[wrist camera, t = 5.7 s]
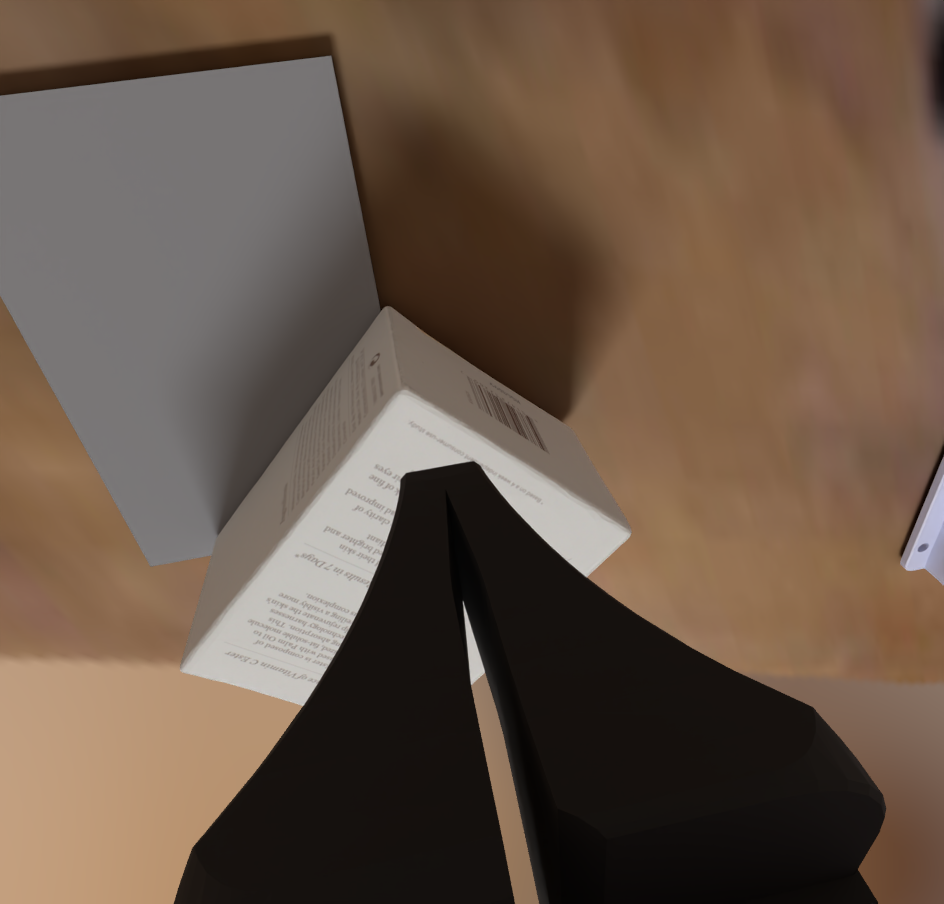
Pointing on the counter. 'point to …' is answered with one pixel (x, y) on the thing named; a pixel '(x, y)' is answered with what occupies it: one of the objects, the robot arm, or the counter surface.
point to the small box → (378, 505)
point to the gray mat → (185, 276)
